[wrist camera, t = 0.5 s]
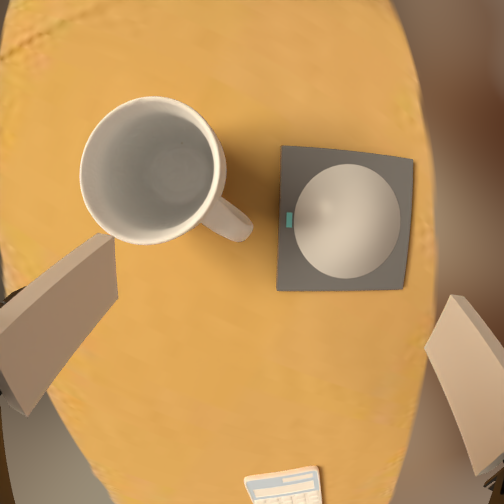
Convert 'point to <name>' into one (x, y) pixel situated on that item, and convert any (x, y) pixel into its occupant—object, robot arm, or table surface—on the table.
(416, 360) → the table surface
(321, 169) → the kitchen scale
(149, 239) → the mug
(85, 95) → the table surface
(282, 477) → the calculator
